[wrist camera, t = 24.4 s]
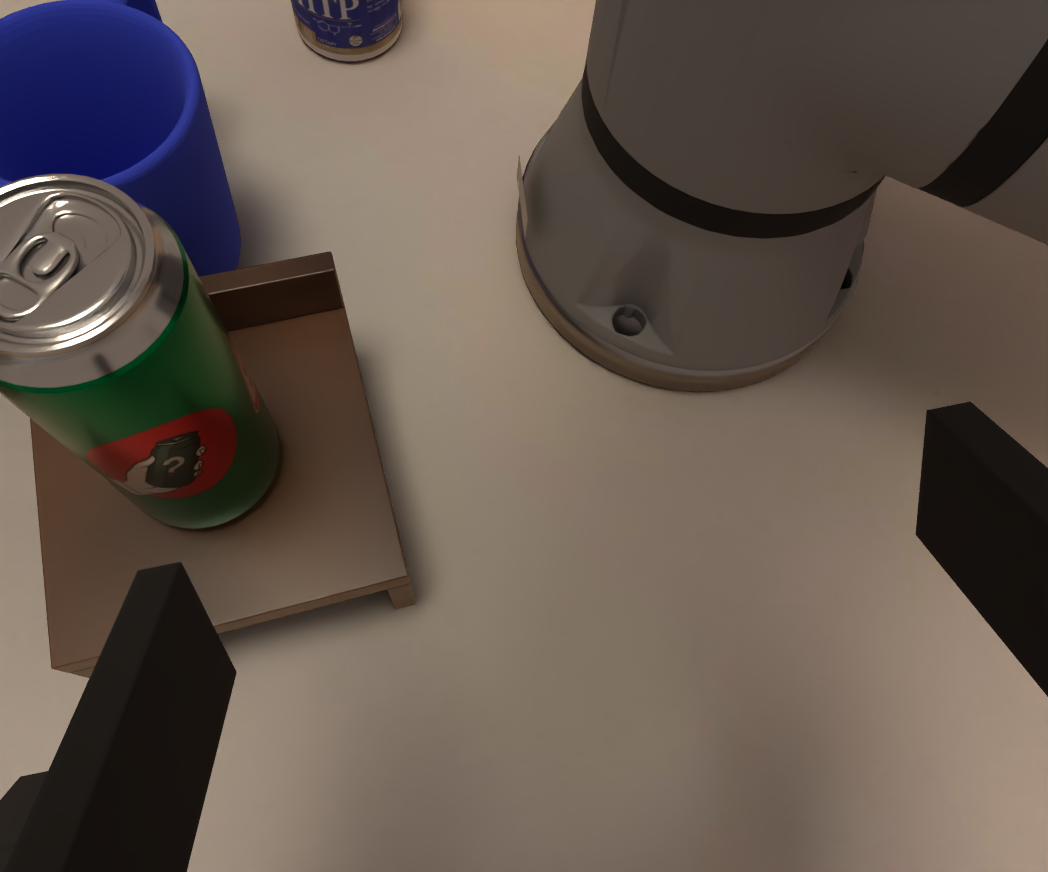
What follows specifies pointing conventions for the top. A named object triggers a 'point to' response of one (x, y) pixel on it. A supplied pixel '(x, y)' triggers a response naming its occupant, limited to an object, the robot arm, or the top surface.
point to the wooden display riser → (275, 519)
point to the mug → (117, 116)
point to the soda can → (127, 353)
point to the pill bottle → (348, 26)
